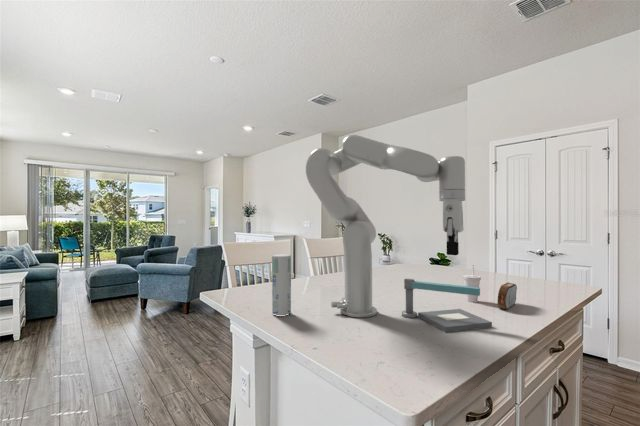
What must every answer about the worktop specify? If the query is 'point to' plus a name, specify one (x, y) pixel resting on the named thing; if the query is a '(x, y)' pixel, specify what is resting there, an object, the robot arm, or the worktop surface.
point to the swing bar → (441, 287)
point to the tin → (507, 295)
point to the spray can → (281, 284)
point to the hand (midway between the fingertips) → (452, 254)
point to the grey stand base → (446, 317)
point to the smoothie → (472, 284)
